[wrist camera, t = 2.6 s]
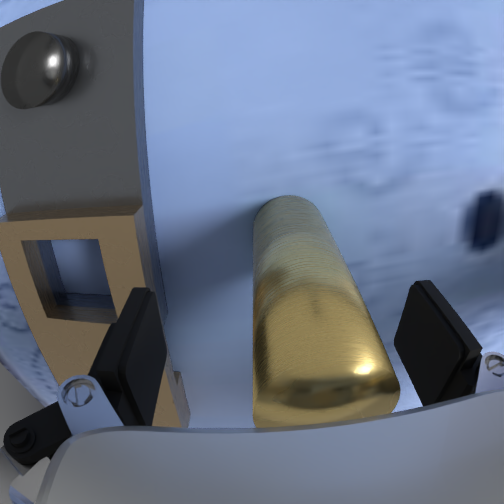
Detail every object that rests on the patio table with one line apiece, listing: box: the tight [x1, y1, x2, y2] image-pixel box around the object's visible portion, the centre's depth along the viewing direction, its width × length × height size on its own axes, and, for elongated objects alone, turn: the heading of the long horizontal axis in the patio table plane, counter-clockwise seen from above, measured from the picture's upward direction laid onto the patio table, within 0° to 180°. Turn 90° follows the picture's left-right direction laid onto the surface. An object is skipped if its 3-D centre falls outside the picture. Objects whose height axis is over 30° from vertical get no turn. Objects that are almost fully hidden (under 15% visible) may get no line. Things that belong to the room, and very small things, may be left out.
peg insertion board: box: [0, 0, 190, 428], centre depth 17 cm, size 10×32×5 cm, turn 0°
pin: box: [253, 195, 400, 428], centre depth 13 cm, size 4×4×12 cm
